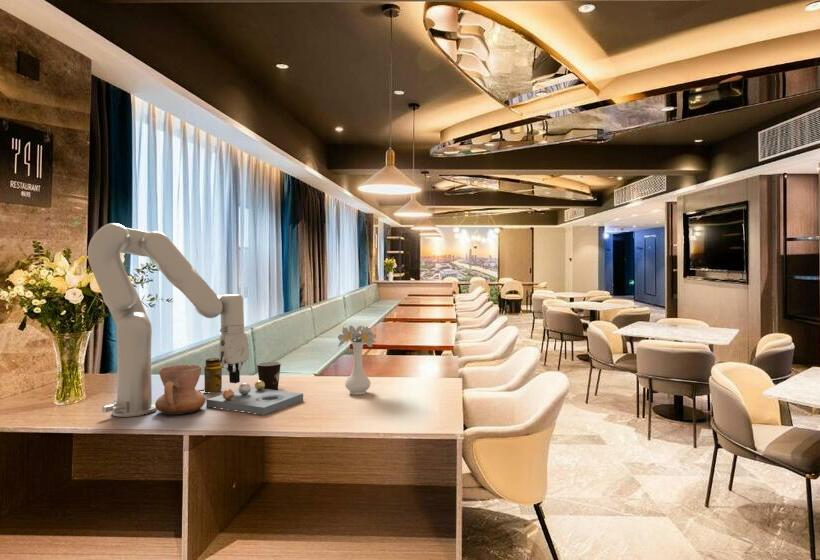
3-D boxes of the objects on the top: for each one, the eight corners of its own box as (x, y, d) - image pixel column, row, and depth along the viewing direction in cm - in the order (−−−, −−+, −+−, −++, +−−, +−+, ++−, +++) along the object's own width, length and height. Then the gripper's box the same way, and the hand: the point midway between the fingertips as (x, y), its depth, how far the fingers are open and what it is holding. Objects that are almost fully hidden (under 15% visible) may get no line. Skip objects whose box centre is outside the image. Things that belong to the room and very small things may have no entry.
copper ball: (228, 401, 163) (228, 391, 163) (220, 400, 165) (220, 389, 165) (236, 399, 166) (236, 388, 166) (228, 398, 168) (228, 387, 168)
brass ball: (260, 391, 177) (260, 381, 177) (252, 390, 178) (252, 380, 178) (266, 389, 180) (266, 379, 180) (259, 388, 182) (259, 379, 182)
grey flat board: (206, 406, 166) (206, 399, 166) (249, 393, 184) (249, 386, 184) (263, 415, 156) (263, 407, 156) (303, 400, 174) (303, 393, 174)
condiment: (225, 391, 189) (225, 359, 189) (203, 395, 183) (203, 362, 183) (217, 387, 194) (217, 356, 194) (195, 391, 188) (195, 359, 188)
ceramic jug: (171, 404, 169) (171, 362, 169) (214, 404, 169) (214, 362, 169) (141, 420, 152) (141, 373, 151) (189, 420, 151) (189, 373, 151)
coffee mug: (266, 393, 184) (266, 366, 184) (252, 390, 189) (252, 364, 189) (291, 388, 193) (291, 362, 193) (277, 385, 199) (277, 359, 198)
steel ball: (244, 396, 170) (244, 384, 170) (235, 395, 171) (235, 383, 171) (253, 394, 173) (253, 382, 173) (244, 393, 175) (244, 381, 175)
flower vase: (379, 387, 195) (379, 322, 194) (369, 399, 176) (369, 328, 176) (346, 386, 196) (346, 322, 196) (333, 398, 178) (333, 327, 177)
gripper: (224, 333, 166) (226, 388, 167) (256, 327, 180) (258, 378, 180) (207, 332, 169) (209, 386, 170) (240, 326, 183) (241, 377, 183)
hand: (234, 382), depth 175 cm, fingers closed
